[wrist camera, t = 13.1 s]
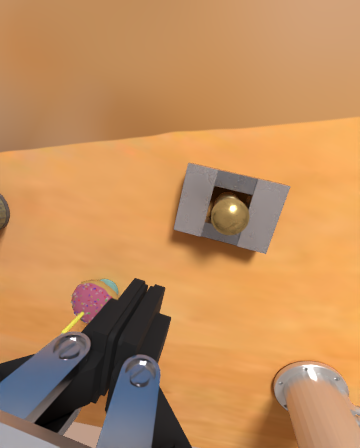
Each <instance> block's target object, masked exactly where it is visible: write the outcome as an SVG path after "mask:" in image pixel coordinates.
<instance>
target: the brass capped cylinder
mask: <svg viewBox="0 0 360 448" xmlns="http://www.w3.org/2000/svg"><path fill="white" fill-rule="evenodd" d="M211 222H212V225H213V227H214V228H215V229H216V230H217V231H218V232H220V233H221V234H224V235H236V234H238V233H240V232H242V231H243V230H244V229H245V228H246V226H247V225H248V222H249V211H248V209H247V207H246V206H245V204H244V203H243V202H242V201H240V200H239V198H238V197H237V196H236V195H235V194H233V193H230V192H225V193H222V194H220V195H219V196H218V197H217V198H216V200H215V205H214V207H213V209H212V212H211Z"/></svg>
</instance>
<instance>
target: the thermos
mask: <svg viewBox="0 0 360 448" xmlns="http://www.w3.org/2000/svg"><path fill="white" fill-rule="evenodd" d="M9 217H10V213H9V207H8V204H7V202H6V201H5V199H4V197H3V196H2V195H1V194H0V229H2V228H4V227H5V226H6V225H7V223H8V221H9Z"/></svg>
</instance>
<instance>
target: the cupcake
mask: <svg viewBox="0 0 360 448" xmlns="http://www.w3.org/2000/svg"><path fill="white" fill-rule="evenodd" d="M110 298H114V299H117V300H118V288H117V286H116V284H115V283H114V282H112V281H111V280H108V279H102V280H88V281H84V282H82V283H80V285H78V286H77V288H76V289H75V291H74V293H73V294H72V301H71V303H72V308H73V310H74V314H75V315H76V316H77V317H76V318H75V319H74V320H73V321H72V322H71V323H70V324H69V325H68V326H67V327H66V328H65V329H64V330H63V331H62V332H61V333H62V334H64V333H67V332H68V331H69V330H70V329H71V328H72V327H73V326H74V325H75V324H76V322H77V321H78V320H79V319H81V321H83V322H84V323H88V324H89V323H90V321H91V320H92V319H93V318H94V317H95V316H96V314H97V313H98V312H99V311H100V310H101V309H102V307H103V306H104V305H105V304H106V303H107V302H108V300H109V299H110Z"/></svg>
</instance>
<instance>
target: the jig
mask: <svg viewBox="0 0 360 448" xmlns="http://www.w3.org/2000/svg"><path fill="white" fill-rule="evenodd" d="M214 186H217V187H221V188H226V189H230V190H234V191H238V192H242V193H247V194H248V197H247V200H246V203H245V206H246V207H247V209H248V211H249V222H248V225H247V226H246V228H245V229H244V230H243V231H242V232H240V233H238V234H236V235H224V234H221V233H220V232H218V231H217V230H216V229H215V228H214V227H213V225H212V222H211V217H207V216H206V215H207V211H208V207H209V203H210V200H211V196H212V192H213V188H214ZM289 189H290V186H287V185H284V184H281V183H276V182H272V181H268V180H263V179H259V178H255V177H250V176H246V175H241V174H237V173H233V172H228V171H224V170H220V169H215V168H211V167H207V166H202V165H198V164H194V163H188V166H187V171H186V176H185V180H184V185H183V189H182V194H181V198H180V203H179V207H178V212H177V216H176V221H175V225H174V230H177V231H181V232H185V233H189V234H192V235H196V236H200V237H201V236H202V237H206V238H210V239H214V240H218V241H221V242H225V243H229V244H233V245H237V246H238V247H242V248H245V249H249V250H253V251H257V252H261V253H264V254H266V252H267V249H268V247H269V244H270V241H271V238H272V236H273V233H274V230H275V227H276V225H277V222H278V219H279V216H280V214H281V211H282V208H283V205H284V203H285V200H286V197H287V194H288V192H289Z"/></svg>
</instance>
